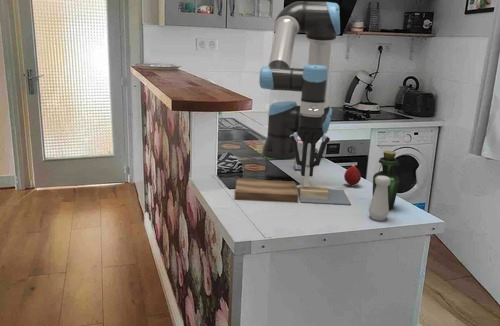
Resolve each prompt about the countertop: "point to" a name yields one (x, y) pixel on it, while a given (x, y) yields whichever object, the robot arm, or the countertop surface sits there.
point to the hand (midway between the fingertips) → (305, 185)
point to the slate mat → (329, 198)
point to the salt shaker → (380, 199)
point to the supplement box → (300, 148)
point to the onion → (352, 175)
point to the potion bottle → (387, 166)
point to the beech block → (313, 192)
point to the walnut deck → (266, 190)
